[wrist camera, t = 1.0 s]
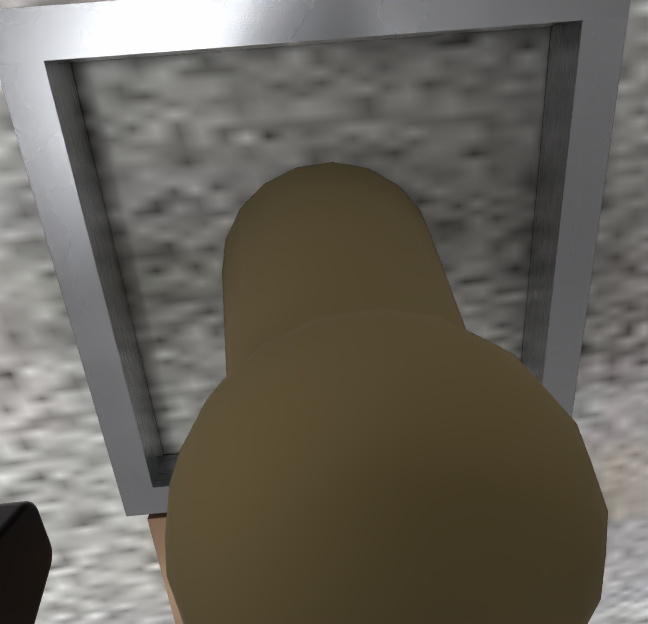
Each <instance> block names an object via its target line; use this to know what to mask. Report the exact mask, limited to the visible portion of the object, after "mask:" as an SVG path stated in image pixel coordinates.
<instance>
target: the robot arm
mask: <svg viewBox="0 0 648 624" xmlns="http://www.w3.org/2000/svg"><path fill="white" fill-rule="evenodd" d="M51 562H52V548H51V544H50V541H49V538H48V536H47V533H46V530H45V528H44V525H43V522H42V520H41V517H40V514H39V511H38V509H37V507H36V506H35V505H34V504H33V503H32V502H28V501H22V502H12V503H3V504H0V624H34V623H35V620H36V616H37V613H38V609H39V606H40V602H41V599H42V595H43V592H44V588H45V584H46V581H47V577H48V574H49V570H50V567H51Z"/></svg>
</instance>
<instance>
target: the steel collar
mask: <svg viewBox="0 0 648 624" xmlns="http://www.w3.org/2000/svg"><path fill="white" fill-rule="evenodd" d="M629 5H630V0H117V1H103V2H89V3H75V4H62V5H48V6H34V7H20V8H7V9H0V81H1V84H2V87H3V91H4V94H5V98H6V101H7V105H8V108H9V112H10V115H11V119H12V122H13V125H14V129H15V132H16V136H17V139H18V143H19V146H20V150H21V153H22V157H23V160H24V163H25V167H26V170H27V174H28V177H29V181H30V184H31V188H32V191H33V195H34V198H35V202H36V205H37V208H38V212H39V215H40V219H41V222H42V226H43V229H44V233H45V236H46V240H47V243H48V246H49V250H50V253H51V257H52V260H53V264H54V267H55V271H56V274H57V278H58V281H59V284H60V288H61V291H62V295H63V298H64V302H65V305H66V309H67V312H68V316H69V319H70V323H71V326H72V329H73V333H74V336H75V340H76V343H77V347H78V350H79V354H80V357H81V361H82V364H83V367H84V371H85V374H86V378H87V381H88V385H89V388H90V392H91V395H92V399H93V402H94V405H95V409H96V412H97V416H98V419H99V423H100V426H101V430H102V433H103V437H104V440H105V443H106V447H107V450H108V454H109V457H110V461H111V464H112V468H113V471H114V475H115V478H116V482H117V485H118V488H119V492H120V495H121V499H122V502H123V506H124V509H125V513H126V516H134V515H145V514H155V513H166V512H167V507H168V495H169V484H170V480H171V477H172V474H173V471H174V468H175V465H176V462H177V459H178V456H179V454H173V455H163V451H162V446H161V442H160V438H159V434H158V430H157V425H156V421H155V417H154V413H153V409H152V404H151V400H150V396H149V392H148V388H147V383H146V379H145V375H144V371H143V367H142V362H141V358H140V354H139V350H138V345H137V341H136V337H135V333H134V329H133V324H132V320H131V316H130V312H129V308H128V303H127V299H126V295H125V291H124V287H123V282H122V278H121V274H120V270H119V266H118V261H117V257H116V253H115V249H114V245H113V240H112V236H111V232H110V228H109V224H108V219H107V215H106V211H105V207H104V203H103V198H102V194H101V190H100V186H99V182H98V177H97V173H96V169H95V165H94V161H93V156H92V152H91V148H90V144H89V140H88V135H87V131H86V127H85V123H84V118H83V114H82V110H81V106H80V102H79V97H78V93H77V89H76V85H75V81H74V76H73V72H72V68H71V64H70V63H71V62H85V61H98V60H111V59H124V58H138V57H151V56H164V55H177V54H191V53H204V52H217V51H230V50H244V49H257V48H270V47H284V46H297V45H310V44H323V43H337V42H350V41H363V40H376V39H390V38H403V37H416V36H430V35H443V34H456V33H469V32H483V31H496V30H509V29H522V28H536V27H549V26H552V29H551V40H550V51H549V62H548V73H547V84H546V96H545V107H544V118H543V129H542V140H541V151H540V162H539V173H538V184H537V195H536V206H535V217H534V228H533V239H532V250H531V261H530V272H529V284H528V295H527V306H526V317H525V328H524V339H523V350H522V361H521V362H522V363H523V364H524V366H525V367H526V368H527V369H528V370H529V371H530V372H531V373H532V374H533V375H534V376H535V377H536V379H537V380H538V381H539V382H540V383H541V384H542V385H543V386H544V387H545V388H546V389H547V390H548V392H549V393H550V394H551V395H552V396H553V397H554V398H555V399H556V400H557V402H558V403H559V404H560V405H561V406H562V407H563V409H564V410H565V411H566V412H567V413H568V414H569V416H570V417H571V418H572V411H573V404H574V397H575V390H576V383H577V375H578V368H579V361H580V354H581V347H582V340H583V333H584V326H585V318H586V311H587V304H588V297H589V290H590V283H591V276H592V269H593V262H594V254H595V247H596V240H597V233H598V226H599V219H600V212H601V205H602V197H603V190H604V183H605V176H606V169H607V162H608V155H609V148H610V141H611V133H612V126H613V119H614V112H615V105H616V98H617V91H618V84H619V76H620V69H621V62H622V55H623V48H624V41H625V34H626V27H627V20H628V12H629Z"/></svg>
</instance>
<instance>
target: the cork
mask: <svg viewBox="0 0 648 624" xmlns="http://www.w3.org/2000/svg"><path fill="white" fill-rule="evenodd" d="M222 280H223V304H224V327H225V350H226V373H227V377H226V378H225V379H224V380H223V381H222V382H221V383H220V385H219V386H218V387H217V388H216V389H215V391H214V392H213V393H212V394H211V395H210V397H209V398H208V399H207V400H206V402H205V404H204V406H203V408H202V410H201V412H200V414H199V416H198V417H197V419H196V421H195V423H194V425H193V427H192V429H191V431H190V433H189V435H188V436H187V438H186V440H185V442H184V444H183V446H182V448H181V450H180V452H179V456H178V459H177V462H176V465H175V468H174V471H173V474H172V477H171V480H170V484H169V495H168V507H167V518H166V530H165V553H166V576H167V579H168V582H169V585H170V587H171V590H172V593H173V596H174V599H175V601H176V604H177V607H178V610H179V613H180V615H181V618H182V621H183V624H588V622H589V620H590V618H591V616H592V615H593V613H594V611H595V609H596V607H597V605H598V603H599V602H600V600H601V593H602V584H603V575H604V566H605V557H606V541H607V520H608V510H607V507H606V504H605V501H604V498H603V495H602V492H601V489H600V487H599V484H598V481H597V478H596V475H595V472H594V469H593V466H592V463H591V460H590V458H589V455H588V452H587V450H586V447H585V444H584V442H583V439H582V436H581V434H580V431H579V429H578V426H577V424H576V422H575V421H574V420H573V419H572V418H571V417H570V416H569V414H568V413H567V412H566V411H565V410H564V409H563V407H562V406H561V405H560V404H559V403H558V402H557V400H556V399H555V398H554V397H553V396H552V395H551V394H550V393H549V392H548V390H547V389H546V388H545V387H544V386H543V385H542V384H541V383H540V382H539V381H538V380H537V379H536V377H535V376H534V375H533V374H532V373H531V372H530V371H529V370H528V369H527V368H526V367H525V366H524V364H523V363H522V362H521V361H520V360H519V359H518V358H517V357H516V356H515V355H514V354H512V353H510V352H508V351H506V350H504V349H503V348H501V347H499V346H497V345H495V344H493V343H491V342H489V341H487V340H485V339H483V338H481V337H479V336H477V335H475V334H473V333H471V332H469V331H467V330H466V328H465V325H464V323H463V320H462V317H461V315H460V312H459V309H458V307H457V304H456V301H455V299H454V296H453V293H452V291H451V288H450V285H449V283H448V280H447V277H446V275H445V272H444V269H443V267H442V264H441V261H440V259H439V256H438V253H437V251H436V248H435V245H434V243H433V240H432V238H431V235H430V233H429V230H428V228H427V225H426V223H425V221H424V218H423V216H422V213H421V211H420V210H419V208H418V207H417V206H416V205H415V204H414V203H413V202H412V201H411V199H410V198H409V197H408V196H407V195H406V194H405V193H404V192H403V190H402V189H401V188H400V187H399V186H398V185H396V184H395V183H393V182H391V181H389V180H387V179H386V178H384V177H382V176H380V175H378V174H377V173H375V172H373V171H371V170H369V169H367V168H361V167H356V166H350V165H345V164H339V163H334V162H332V163H325V164H318V165H311V166H304V167H298V168H295V169H293V170H291V171H289V172H287V173H285V174H283V175H281V176H279V177H277V178H275V179H273V180H271V181H269V182H267V183H265V184H264V185H263V186H262V187H261V188H260V189H259V190H258V191H257V192H256V193H255V194H254V195H253V196H252V197H251V198H250V199H249V200H248V201H247V202H246V203H245V205H244V206H243V207H242V208H241V209H240V211H239V213H238V215H237V217H236V219H235V221H234V223H233V225H232V227H231V229H230V231H229V233H228V236H227V238H226V241H225V250H224V259H223V268H222Z"/></svg>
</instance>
